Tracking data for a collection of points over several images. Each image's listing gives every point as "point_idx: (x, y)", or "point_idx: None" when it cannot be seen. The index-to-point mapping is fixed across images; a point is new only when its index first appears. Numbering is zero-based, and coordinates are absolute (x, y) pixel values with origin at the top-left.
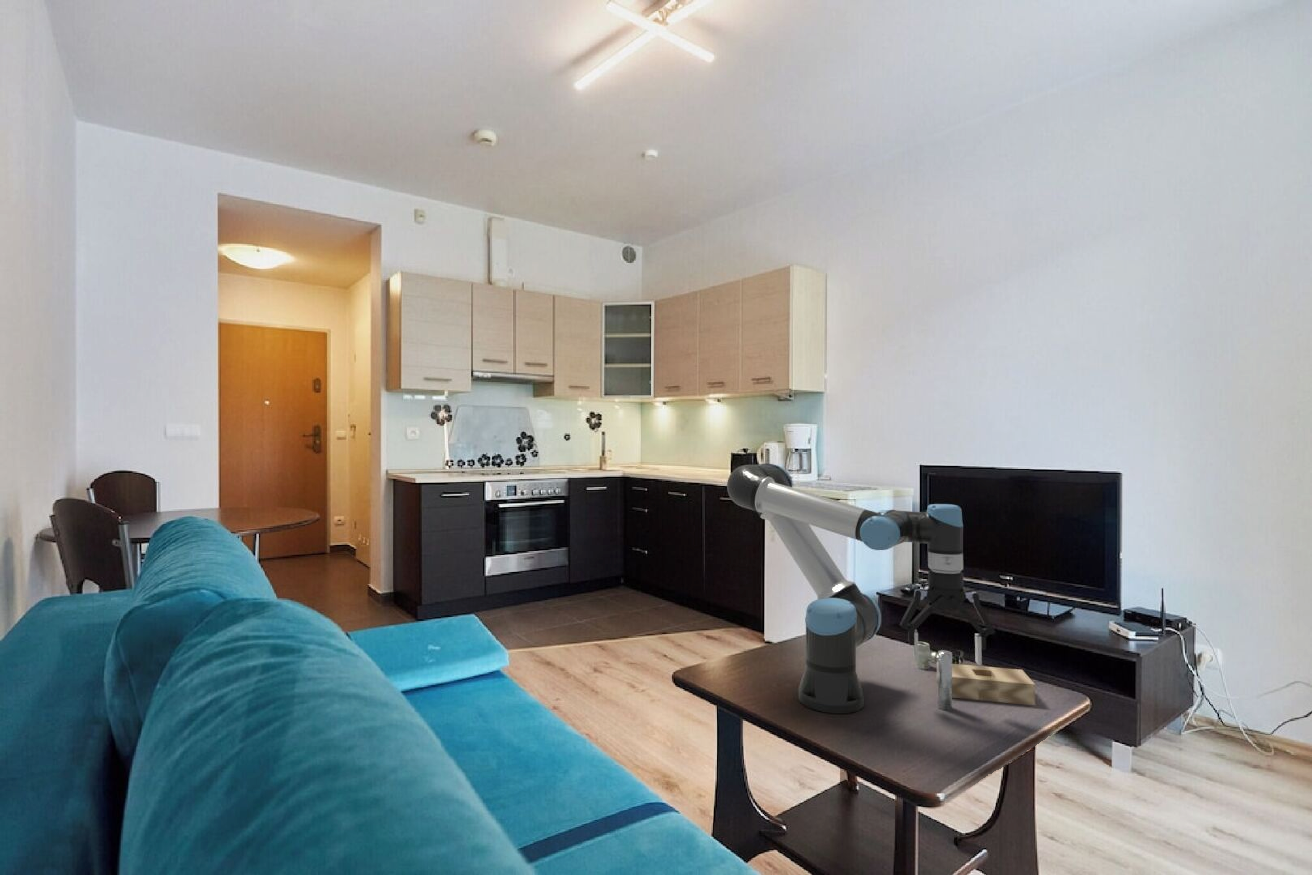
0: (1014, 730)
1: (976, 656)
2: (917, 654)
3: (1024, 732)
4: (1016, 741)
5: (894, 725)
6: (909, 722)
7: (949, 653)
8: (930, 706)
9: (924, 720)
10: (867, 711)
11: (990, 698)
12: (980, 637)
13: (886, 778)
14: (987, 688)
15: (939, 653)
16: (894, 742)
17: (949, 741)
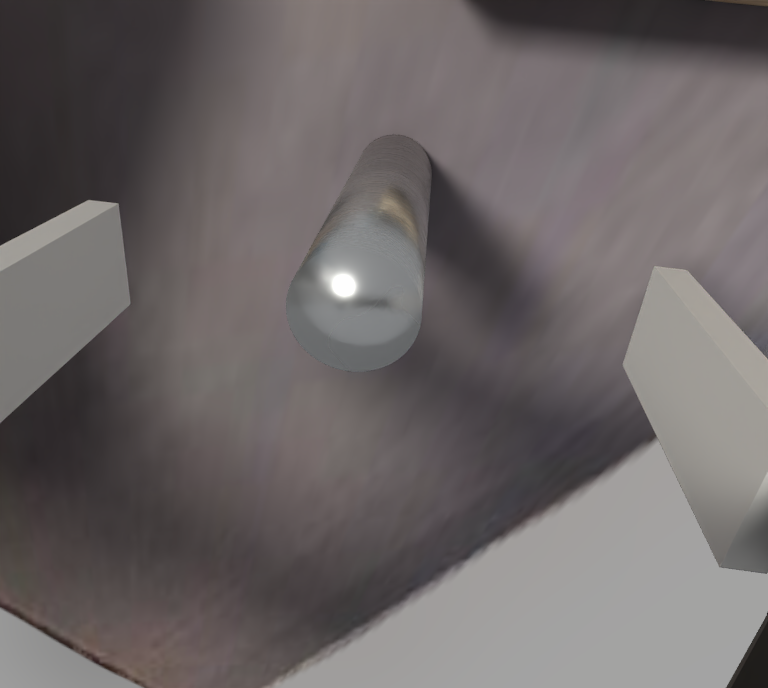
0: None
1: (657, 340)
2: (97, 327)
3: None
4: (587, 476)
5: (127, 399)
6: (189, 366)
7: (389, 340)
8: (317, 165)
9: (257, 340)
10: None
11: (751, 4)
12: (753, 563)
13: (111, 671)
14: (763, 1)
15: (294, 332)
16: (129, 517)
17: (321, 496)
